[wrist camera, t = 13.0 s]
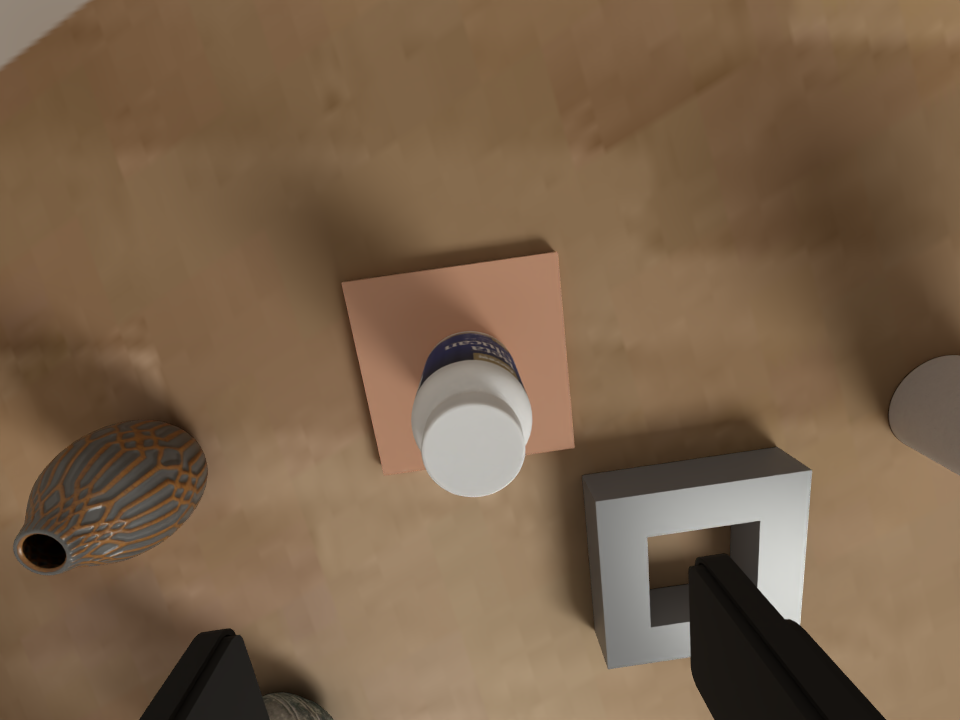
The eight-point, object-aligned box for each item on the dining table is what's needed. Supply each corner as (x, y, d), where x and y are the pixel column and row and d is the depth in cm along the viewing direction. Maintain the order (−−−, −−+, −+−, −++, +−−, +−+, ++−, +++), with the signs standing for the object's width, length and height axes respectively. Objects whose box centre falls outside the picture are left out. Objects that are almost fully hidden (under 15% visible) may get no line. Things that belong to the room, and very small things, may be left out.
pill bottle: (516, 328, 26) (548, 383, 16) (514, 415, 27) (542, 512, 18) (421, 329, 25) (398, 386, 16) (425, 416, 27) (405, 516, 17)
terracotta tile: (386, 469, 29) (384, 475, 28) (345, 281, 25) (341, 282, 24) (571, 442, 29) (574, 447, 28) (554, 251, 25) (557, 251, 25)
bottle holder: (594, 630, 33) (607, 669, 30) (582, 475, 29) (595, 501, 26) (769, 605, 33) (799, 641, 30) (777, 446, 29) (811, 470, 26)
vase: (250, 465, 28) (160, 565, 20) (170, 523, 29) (51, 642, 20) (167, 382, 26) (30, 451, 18) (85, 445, 27) (-83, 540, 19)
